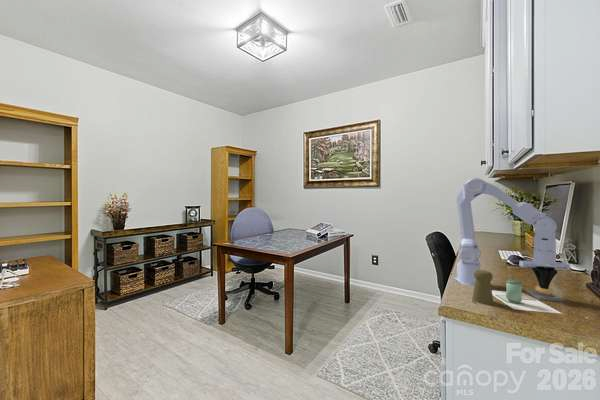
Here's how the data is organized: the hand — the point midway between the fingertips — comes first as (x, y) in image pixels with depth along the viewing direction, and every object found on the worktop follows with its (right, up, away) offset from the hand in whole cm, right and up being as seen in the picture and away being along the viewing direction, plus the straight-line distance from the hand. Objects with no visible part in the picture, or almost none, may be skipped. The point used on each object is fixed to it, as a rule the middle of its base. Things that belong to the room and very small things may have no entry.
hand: (543, 288), depth 91 cm
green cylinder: (-15, -3, -6) cm, 17 cm away
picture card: (-12, -4, -4) cm, 13 cm away
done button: (0, -2, 0) cm, 2 cm away
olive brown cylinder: (-26, -4, -5) cm, 26 cm away
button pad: (0, -4, 0) cm, 4 cm away
